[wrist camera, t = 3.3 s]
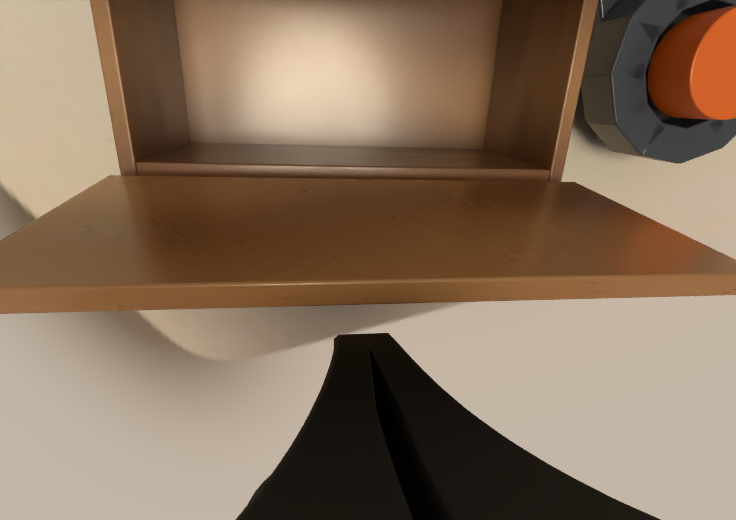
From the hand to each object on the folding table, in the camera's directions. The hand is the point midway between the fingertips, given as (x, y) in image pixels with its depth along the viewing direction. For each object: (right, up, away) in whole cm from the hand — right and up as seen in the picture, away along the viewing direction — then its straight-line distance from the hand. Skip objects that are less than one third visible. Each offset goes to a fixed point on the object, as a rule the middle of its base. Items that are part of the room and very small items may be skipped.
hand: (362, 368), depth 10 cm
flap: (0, +4, -2) cm, 4 cm away
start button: (+11, +9, +4) cm, 15 cm away
